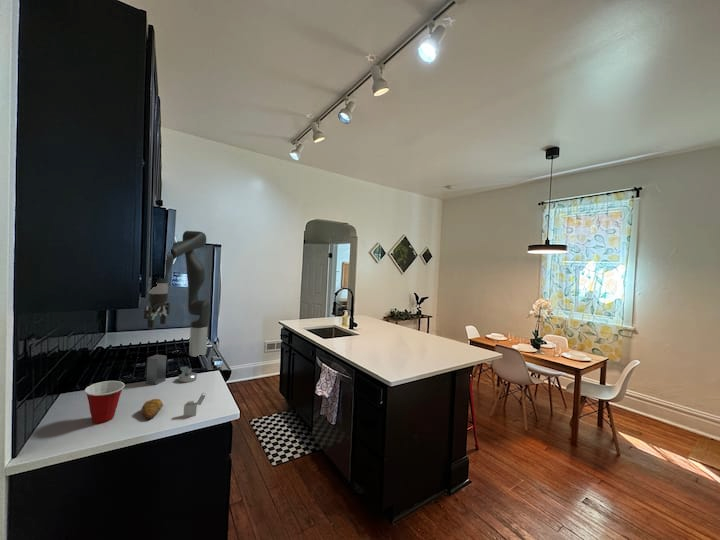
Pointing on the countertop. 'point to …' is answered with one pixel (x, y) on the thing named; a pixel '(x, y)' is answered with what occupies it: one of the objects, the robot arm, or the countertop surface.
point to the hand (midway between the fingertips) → (156, 325)
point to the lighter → (192, 406)
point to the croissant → (151, 408)
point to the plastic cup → (103, 400)
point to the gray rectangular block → (156, 369)
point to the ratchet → (187, 375)
